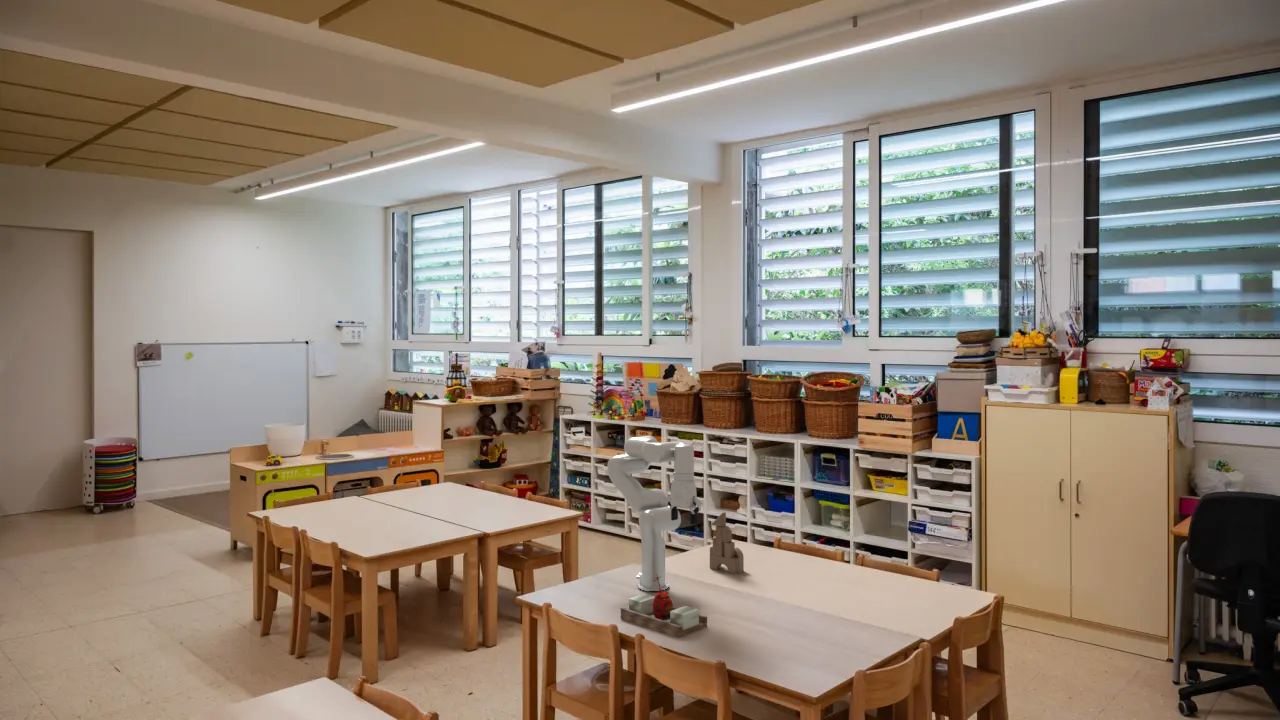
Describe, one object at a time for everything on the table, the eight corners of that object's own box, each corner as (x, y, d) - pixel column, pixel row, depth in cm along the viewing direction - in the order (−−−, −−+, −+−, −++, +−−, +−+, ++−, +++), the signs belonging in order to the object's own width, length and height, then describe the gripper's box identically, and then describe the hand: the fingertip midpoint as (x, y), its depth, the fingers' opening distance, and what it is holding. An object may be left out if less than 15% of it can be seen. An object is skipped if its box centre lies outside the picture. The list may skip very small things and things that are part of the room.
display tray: (620, 618, 289) (620, 599, 289) (648, 608, 300) (648, 590, 300) (679, 637, 270) (679, 618, 270) (707, 626, 280) (706, 607, 280)
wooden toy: (744, 571, 348) (744, 513, 347) (735, 574, 343) (735, 515, 342) (715, 564, 358) (715, 508, 357) (706, 567, 353) (706, 510, 352)
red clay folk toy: (663, 622, 280) (663, 579, 279) (648, 617, 284) (647, 575, 284) (677, 616, 286) (677, 574, 285) (662, 612, 290) (661, 570, 290)
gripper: (660, 475, 310) (660, 519, 311) (694, 481, 298) (694, 527, 299) (673, 473, 316) (673, 516, 316) (707, 478, 304) (707, 523, 304)
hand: (684, 521), depth 307 cm, fingers open, 9 cm apart
